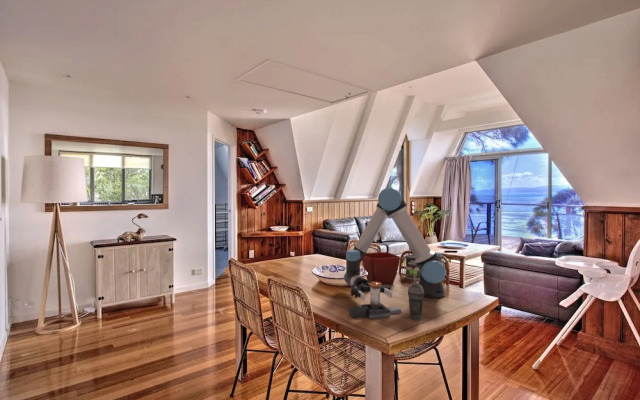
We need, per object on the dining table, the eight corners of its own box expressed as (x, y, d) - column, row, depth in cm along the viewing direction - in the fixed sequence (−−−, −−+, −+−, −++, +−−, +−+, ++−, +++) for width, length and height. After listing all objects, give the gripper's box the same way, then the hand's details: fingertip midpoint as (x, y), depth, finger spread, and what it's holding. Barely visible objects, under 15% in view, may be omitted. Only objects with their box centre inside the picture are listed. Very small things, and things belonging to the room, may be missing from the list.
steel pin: (382, 312, 157) (382, 282, 157) (379, 316, 152) (379, 285, 152) (371, 310, 159) (371, 281, 159) (367, 314, 154) (367, 284, 154)
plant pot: (360, 278, 219) (360, 253, 218) (387, 276, 223) (387, 251, 223) (371, 286, 200) (371, 258, 200) (400, 284, 205) (401, 257, 204)
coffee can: (421, 280, 214) (421, 258, 214) (404, 279, 218) (404, 257, 217) (422, 276, 224) (422, 255, 223) (406, 275, 227) (406, 254, 227)
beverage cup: (414, 322, 145) (414, 276, 145) (403, 316, 152) (404, 272, 152) (427, 319, 148) (428, 274, 148) (416, 314, 155) (417, 271, 154)
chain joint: (393, 307, 164) (393, 301, 164) (403, 314, 154) (403, 308, 154) (347, 312, 157) (347, 306, 157) (355, 320, 148) (355, 313, 148)
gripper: (382, 289, 177) (402, 301, 156) (337, 293, 170) (352, 307, 149) (382, 275, 176) (402, 285, 156) (337, 278, 170) (352, 290, 149)
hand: (378, 296), depth 153 cm, fingers open, 13 cm apart
